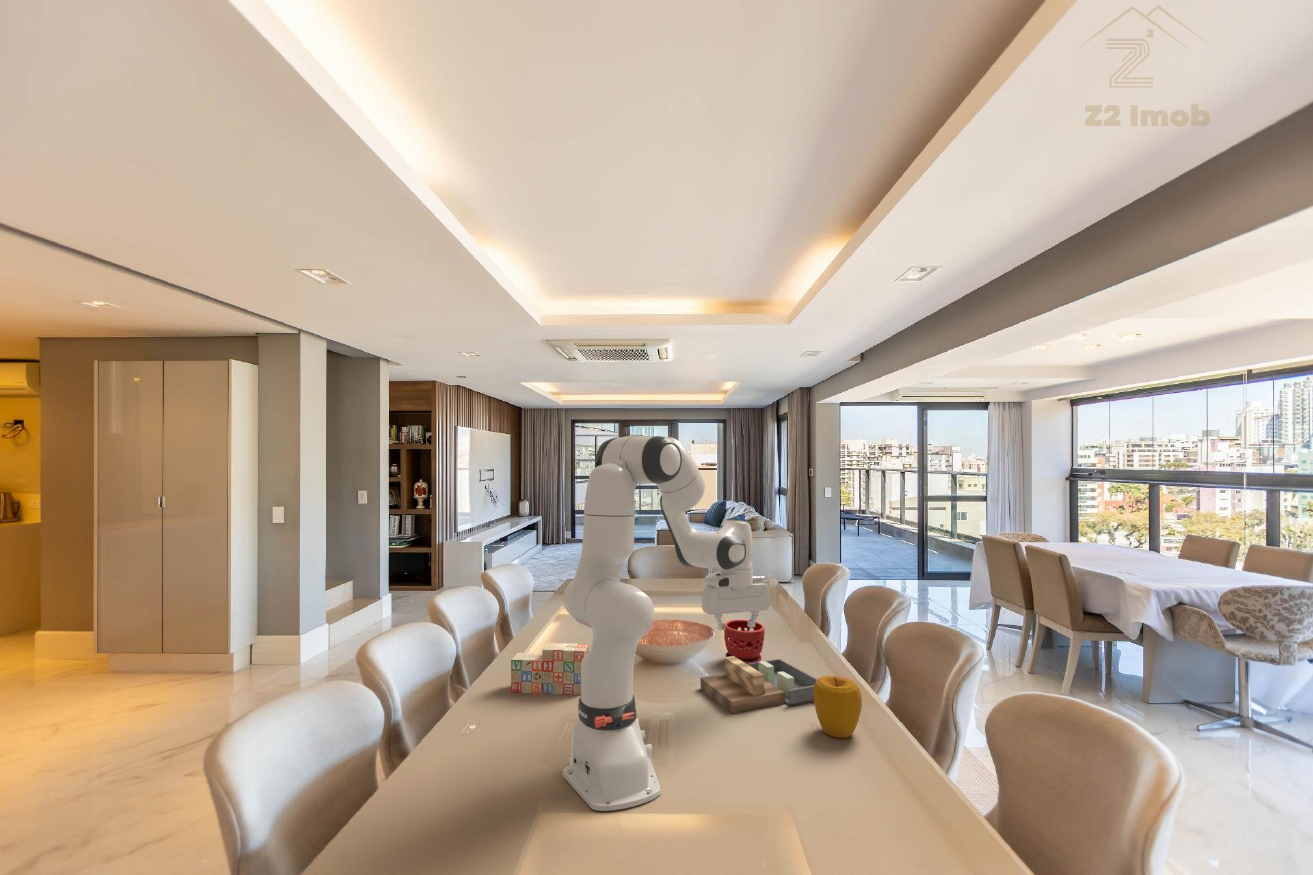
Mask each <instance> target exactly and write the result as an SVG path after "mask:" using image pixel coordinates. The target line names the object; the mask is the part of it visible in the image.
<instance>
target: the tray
mask: <svg viewBox="0 0 1313 875" xmlns="http://www.w3.org/2000/svg"><path fill="white" fill-rule="evenodd" d="M765 661H766V662H767V663H769V664H771V665H773V666H774V684H772V685H774V686H775V687H777V672H782V671H783V672H785V673H787V674H789V675H790V676H792V677H794V689H791V690H788V697H787V696H785V695H784V701H785V704H786V705H787V706H788V707H794V706H798V705H803V704H809V703H814V696H813V690H814V685H815V682H816V680H817V679H818V678H816V677H814V676H813V675H811V674H809V673H807V672H805V671H803V670H801V669H800V668H797V667H796V666H794V665H792V664H790V663H788V662H787V661H785V660H783V659H781V658H776V659H769V660H765ZM747 665H749V666H751V667H752V668H754V669H756V670H757V671H759V667H758V662H756V663H749V664H747Z"/></svg>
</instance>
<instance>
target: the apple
mask: <svg viewBox="0 0 1313 875" xmlns="http://www.w3.org/2000/svg"><path fill="white" fill-rule="evenodd" d="M816 679H817V680H816V682H815V685H814V690H813V696H814V702H813V703H814V707H815V713H816V716H817V719H818V721H819V725H820V727H821V729H822V731H823V732H824V734H827V736H830V737H833V738H840V739H846V738H848V737H851V736H852V735H853V733H854V732H855V730H856V727H857V726H858V723H859V719H860V716H861V713H862V707H863V702H862V701H863V698H862V692H861V689H860V687H859V685H858V684H857V683H856V682H855V681H853V680H852V679H849V678H846V677H844V676H836V675H822V676H820V677H819V678H816Z"/></svg>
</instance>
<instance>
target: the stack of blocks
mask: <svg viewBox="0 0 1313 875" xmlns="http://www.w3.org/2000/svg"><path fill="white" fill-rule="evenodd" d="M589 652H590V645H589V644H588V643H587V644H583V643H572V642H570V643H565V642H564V643H560V642H559V643H558V642H557V643H556V642H554V643H553V642H548V643H547V644H546V645H545V647H544V648H542V653H538V652H517V653H516V654H515V655H514V656H513V657H512V658H511V660H510V670H511V671H510V692H511V693H523V694H548V695H549V694H550V695H572V696H573V695H575V696H581V662H582V660H583V658H584V657H585V655H586V654H588V653H589Z"/></svg>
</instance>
